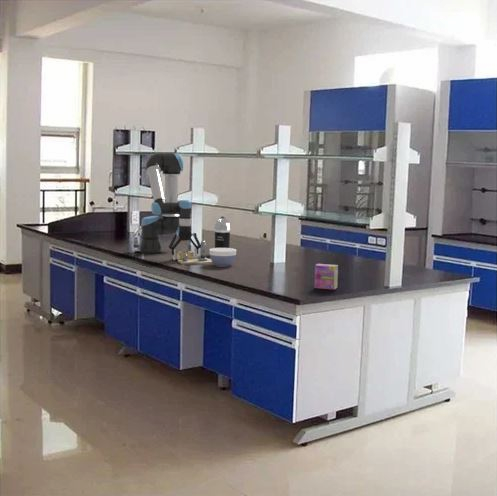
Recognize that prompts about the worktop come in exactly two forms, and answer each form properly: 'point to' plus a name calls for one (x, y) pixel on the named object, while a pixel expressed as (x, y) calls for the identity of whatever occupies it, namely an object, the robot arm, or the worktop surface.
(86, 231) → the worktop surface
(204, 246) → the tall steel post
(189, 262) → the birch board
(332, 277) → the box
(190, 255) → the brass collar
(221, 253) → the bowl
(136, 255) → the worktop surface
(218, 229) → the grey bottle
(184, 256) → the short steel post
